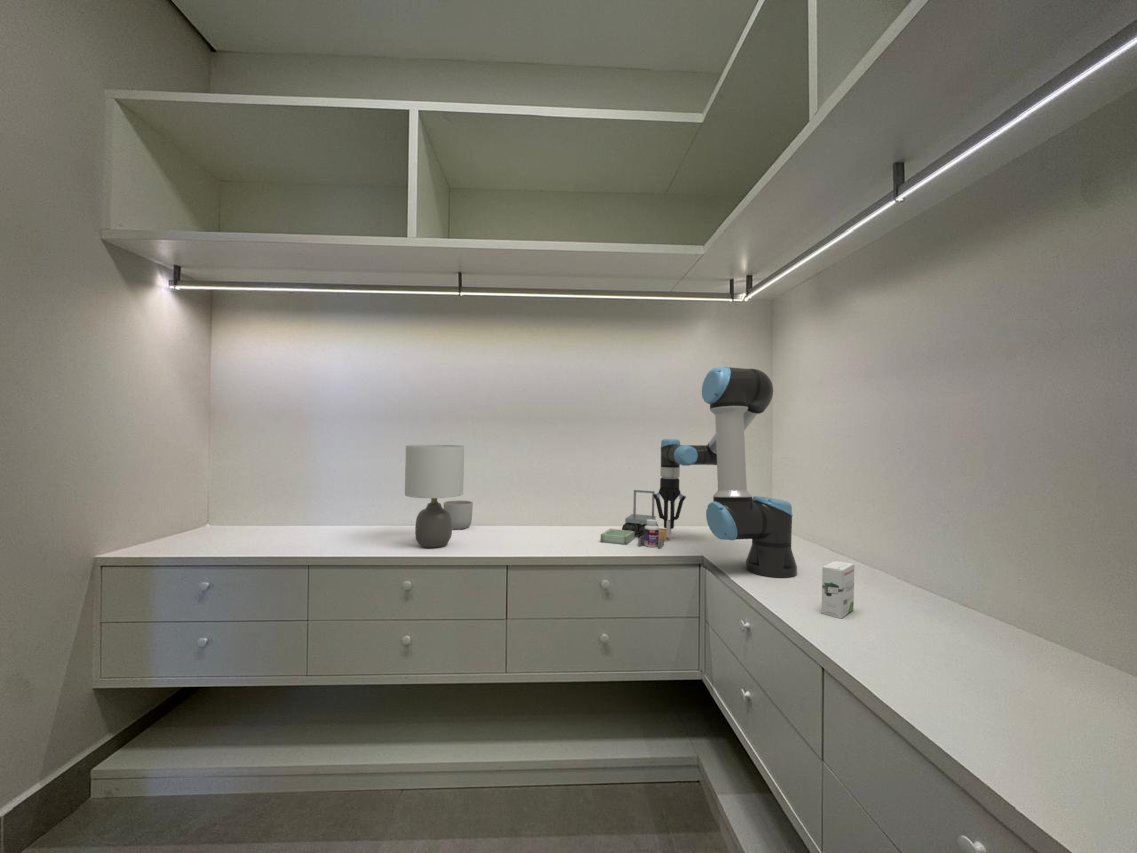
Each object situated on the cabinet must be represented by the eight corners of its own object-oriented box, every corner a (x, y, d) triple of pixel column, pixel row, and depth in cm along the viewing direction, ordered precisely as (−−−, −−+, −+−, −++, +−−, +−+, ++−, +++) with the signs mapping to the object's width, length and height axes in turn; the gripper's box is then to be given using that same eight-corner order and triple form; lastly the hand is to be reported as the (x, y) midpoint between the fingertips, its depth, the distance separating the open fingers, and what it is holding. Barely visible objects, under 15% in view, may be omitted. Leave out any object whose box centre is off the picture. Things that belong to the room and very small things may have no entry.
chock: (665, 541, 197) (665, 531, 197) (655, 540, 199) (655, 530, 199) (668, 538, 203) (668, 529, 203) (658, 537, 204) (658, 528, 204)
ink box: (833, 605, 128) (834, 559, 128) (854, 610, 125) (855, 563, 125) (820, 613, 122) (821, 565, 122) (842, 619, 119) (843, 569, 119)
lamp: (453, 553, 172) (455, 447, 172) (394, 551, 173) (396, 446, 173) (468, 540, 193) (470, 445, 193) (415, 538, 194) (417, 444, 194)
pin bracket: (660, 548, 185) (660, 540, 185) (638, 546, 188) (638, 538, 188) (664, 544, 192) (664, 537, 192) (642, 542, 195) (642, 534, 195)
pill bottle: (649, 547, 186) (649, 521, 186) (641, 544, 191) (641, 519, 191) (661, 546, 189) (661, 521, 189) (653, 543, 193) (653, 518, 193)
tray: (626, 544, 190) (626, 537, 190) (600, 542, 194) (600, 534, 194) (634, 538, 202) (634, 531, 202) (609, 535, 205) (609, 528, 206)
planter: (476, 525, 221) (477, 501, 221) (464, 531, 209) (465, 505, 209) (451, 524, 224) (451, 499, 224) (437, 529, 212) (438, 503, 212)
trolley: (652, 539, 200) (653, 494, 200) (621, 536, 205) (622, 492, 205) (658, 534, 211) (659, 491, 211) (628, 531, 216) (629, 489, 216)
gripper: (687, 477, 201) (686, 536, 201) (655, 475, 205) (654, 533, 205) (684, 479, 194) (683, 540, 194) (651, 477, 199) (650, 536, 198)
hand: (668, 536), depth 200 cm, fingers closed
